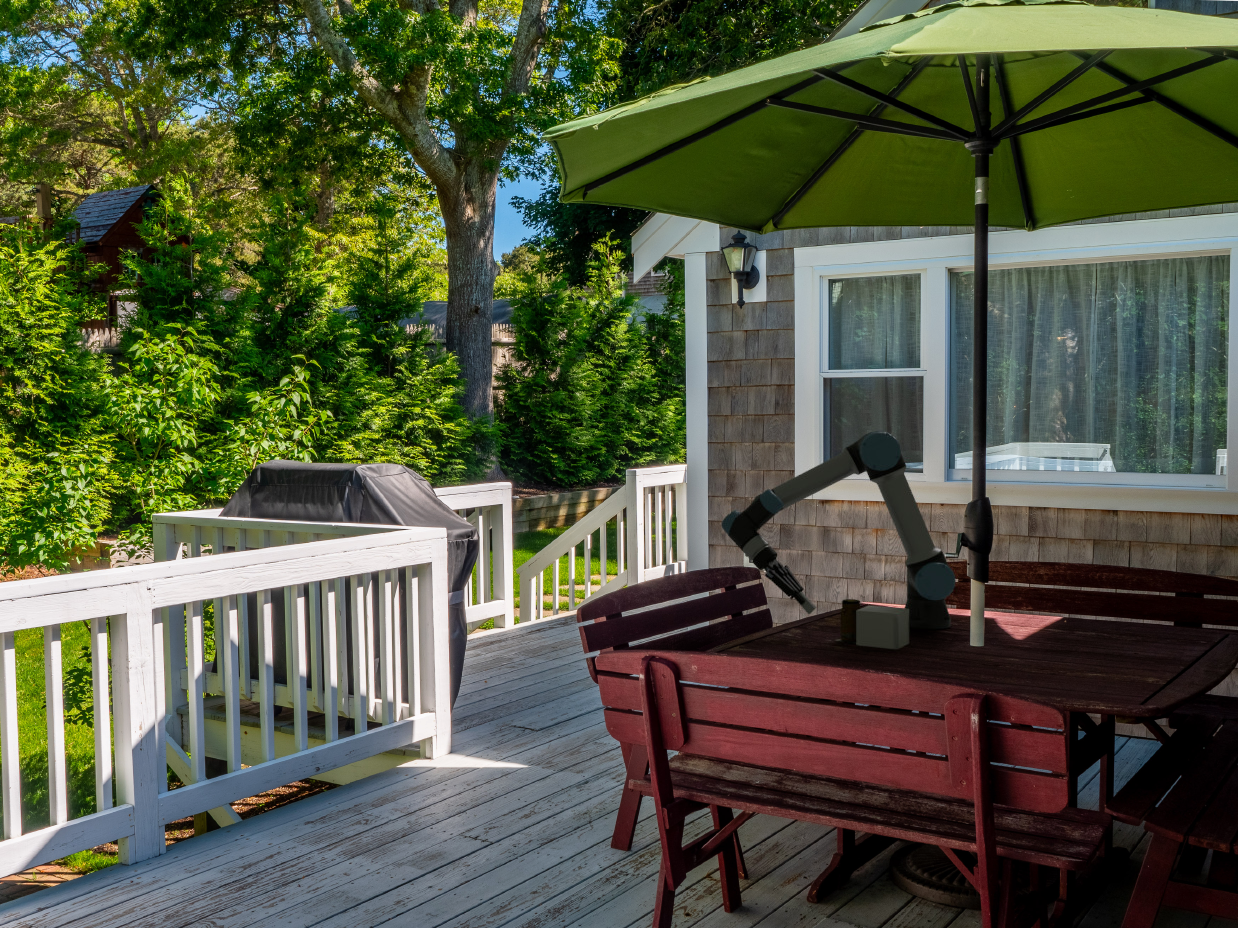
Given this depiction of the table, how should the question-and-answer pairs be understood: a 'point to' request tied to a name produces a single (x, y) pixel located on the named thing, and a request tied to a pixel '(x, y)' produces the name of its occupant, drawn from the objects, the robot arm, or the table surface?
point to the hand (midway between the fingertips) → (812, 610)
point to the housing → (882, 627)
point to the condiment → (849, 620)
